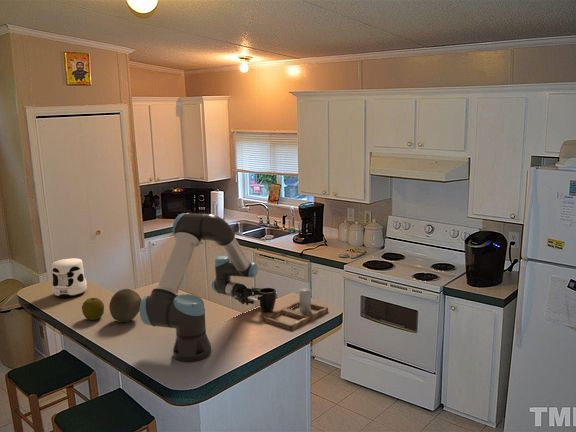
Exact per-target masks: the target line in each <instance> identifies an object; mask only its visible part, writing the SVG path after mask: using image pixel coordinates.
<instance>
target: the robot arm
mask: <svg viewBox="0 0 576 432" xmlns="http://www.w3.org/2000/svg"><path fill="white" fill-rule="evenodd" d="M172 235H173V238H174V240H175V243H174V245H173V247H172V250H171V253H170V255H169V258H168V261H167V262H166V265H165V268H164V270H163V272H162V275H161V278H160V280H159V281H158V282H159V283H158V285H157V287H154V288H153V289H152V290H151V292H150V294H149V295H145V296H143V297H142V298H141V303H140V311H139V317H140V319H141V321H142V323H143V324H144V325H147V326H152V327H158V328H159V327H161V328H168V329H169V328H170V329H175V333H176V334H175V335H176V337H175V342H174V345H173V349H172V356H173V358H174V359H175V360H177V361H180V362H186V363H191V362H192V363H193V362H198V361H202V360H204V359H206V358H208V357H209V356H210V355H211V354H212V345H211V342H210V340H209V337H208V335H207V329H206V328H207V327H206V326H207V325H206V313H205V312H206V309H205V302H204V300H203V298H202V297H200V296H198V295H196V294H195V295H194V294H191V293H186V294H184V293H183V294H179V295H178V293H179V290H180V288H181V286H182V283H183V280H184V277H185V274H186V271H187V269H188V266H189V264H190V261H191V258H192V256H193V253H194V250H195V248H198V247H199V246H200V245H201V242H202V241H213V242H215V244H217V246H220V247H221V249H222V251H224V253H225V254H226V255H220V256H216V257H215V259H214V271H215V277H214V279H213V280H212V281H211V286H210V287H211V289H212V291H214V292H215V293H218V295H224V296H228V297H231V298H233V299H234V300H237V301H238V302H239V303H240V304H241V305H246V306H247V305H248V306H249V304H250V305H254V306H256V307H257V306H258V307H260V300H257V298H254V297H255V296H259V290H260V289H262V288H263V287H258V286H252V287H251V288H249V287H247V286H246V285H245V284H244V283H239V282H235V281H232V280H231V277H237V278H238V277H239V278H255V277H257V275H258V272H259V267H258V264H257V263H256V262H252V261H250V260H249V258H248V257H247V255H246V254H245V252H244V250H243V249H242V246H240V244H239V242H238V240H237V238H236V234H235V231H234V229H233V228H232V226H231V225H230V223H228V222H227V221H226V220H224V219H223V218H222V217H220V216H219V215H216V214H212V213H192V212H187V213H186V212H185V213H180V214H178V216H176V217H175V219H174V220H173V224H172ZM278 294H279V293H278V292H276V299H279V295H278Z"/></svg>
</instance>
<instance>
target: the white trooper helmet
mask: <svg viewBox="0 0 576 432" xmlns="http://www.w3.org/2000/svg"><path fill="white" fill-rule="evenodd" d="M84 271H85V270H84V262H83V260H82V259H81V258H76V257H75V258H74V257H72V258H64V259H63V258H62V259H59V260H55V261H54V262H52V263H51V274H52V285H51V288H52V289H51V290H52V293H53V295H54V296H56V297H58V298H69V297H70V298H71V297H75V296H79V295H81V294H84V292H85V291H87V288H88V284H87V283H88V282H87V279H86V277H85V273H84Z"/></svg>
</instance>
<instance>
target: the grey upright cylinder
mask: <svg viewBox="0 0 576 432" xmlns="http://www.w3.org/2000/svg"><path fill="white" fill-rule="evenodd" d="M298 297H299V299H298V301H299V306H298V307H299V312H302V313H305V314H307V313H310V314H311V313H312V308H311V303H312V289H311V288H307V287H305V288H304V287H302V288H299V289H298Z"/></svg>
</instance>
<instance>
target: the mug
mask: <svg viewBox="0 0 576 432" xmlns="http://www.w3.org/2000/svg"><path fill="white" fill-rule="evenodd" d="M261 288H262V289H260V290H259V295H257V298H256V299H257V300H260V306H259V307H260V309H261V310H262V311H263V312H271V311H274V309H275V304H276V293H277V289H276V288H273V287H261Z"/></svg>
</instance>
